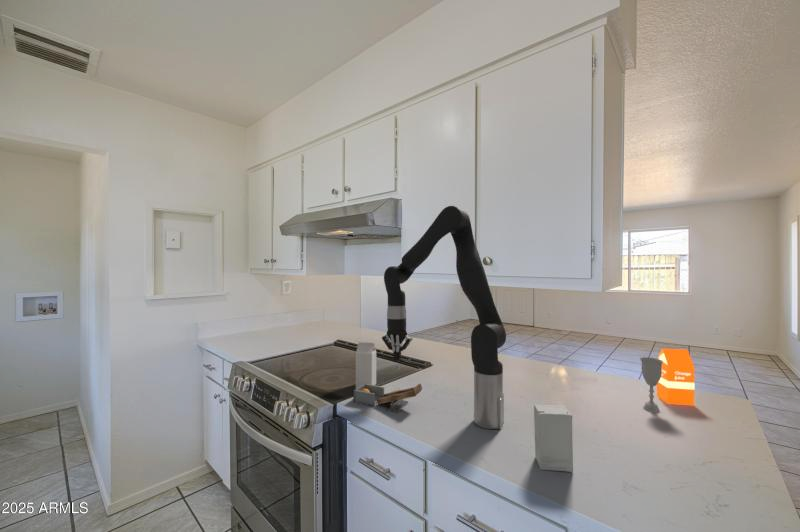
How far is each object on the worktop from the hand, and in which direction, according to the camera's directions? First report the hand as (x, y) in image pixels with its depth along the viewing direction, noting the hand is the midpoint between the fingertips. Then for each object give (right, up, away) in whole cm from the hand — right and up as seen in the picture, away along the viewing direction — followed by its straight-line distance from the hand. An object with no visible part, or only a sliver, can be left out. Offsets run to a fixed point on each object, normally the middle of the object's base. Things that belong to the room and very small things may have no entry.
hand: (397, 360), depth 131 cm
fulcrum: (0, -15, -8) cm, 17 cm away
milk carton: (-14, -15, +12) cm, 24 cm away
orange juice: (+108, -15, -2) cm, 109 cm away
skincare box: (+41, -15, -44) cm, 62 cm away
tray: (-11, -15, -2) cm, 18 cm away
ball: (-12, -12, -2) cm, 17 cm away
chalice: (+93, -15, -10) cm, 94 cm away
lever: (+2, -11, -6) cm, 13 cm away
